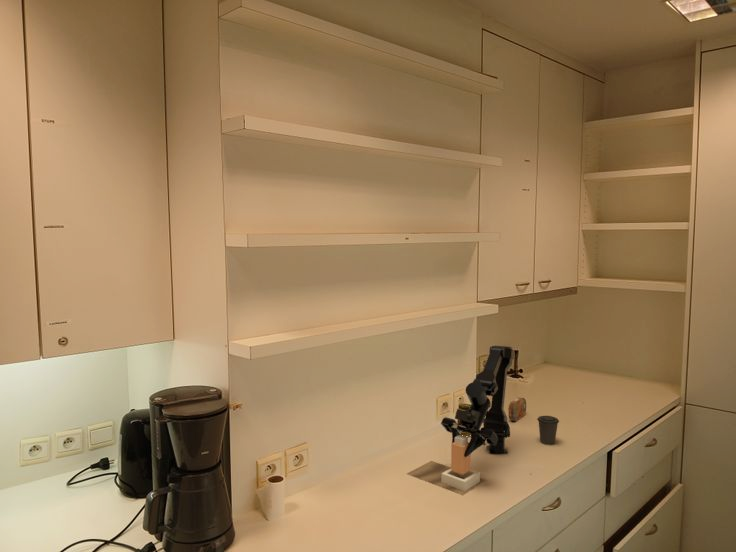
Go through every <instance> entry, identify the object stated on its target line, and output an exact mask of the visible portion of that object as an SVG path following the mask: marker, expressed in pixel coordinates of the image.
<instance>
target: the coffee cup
mask: <svg viewBox="0 0 736 552" xmlns="http://www.w3.org/2000/svg"><path fill="white" fill-rule="evenodd" d="M537 417H538V418H537V419H536V420H537V421H538V429H539V440H540V441H539V442H540V443H541V444H543V445H546V446H553V445H555V444H556V437H557V431H558V424H559V423H560V420H559V419H558V418H557V417H554V416H552V415H539V416H537Z"/></svg>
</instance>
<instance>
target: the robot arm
mask: <svg viewBox="0 0 736 552" xmlns="http://www.w3.org/2000/svg"><path fill="white" fill-rule="evenodd" d="M515 355H516V354H515V349H513V348H512V346H505V345H492V346H490V347H489V354H488V357H487V359H486V362H485V365H484V367H483V370H482V371H481V372H479V373H478V374H477V375H476V377H475V378H474V379H473V380H472V382H470V383H469V384H467V386H465V393H466V396H467V398H468V400H469V402H470V408H469V409H466V410H465V411H463V410H459V408H456V411H455V416H454V418H451V417H447V416H445V417H443V418H442V420H441V422H440V425H441V426H442V427H443V428H444V429H445V431H446V432H448V433H450V434H451V438H452V439H451V444H452V443H453V442H455V437H456V436H458V435H461V432H465V433H469V434H471V437H470V439H469V441H468V442H469V444H468V447H467V449H466V451H465V454H464V456H465V457H467V456H468V455H470V454H472V453H473V452H475V451H476V450H477V449H478V448H480V447H482V446H485V445H486V443H487V444H488V445H486V446H485V447H486V450H487V451H488V452H489V453H490V454H491V455H492V454H495V455H496V454H508V450H507V449H506V448H505V445H506V444H505V442H506V441H505V440H506V439H508V438H510V437H511V428H510V425H509V422H508V416H507V413H506V412H505V410H504V407H505V397H506V387H507V377H508V376H507V375H508V370H509V369H510V367H511V366H512V364H513V361H514V359H515ZM488 396H489V397H491V400H490V399H489V397H488ZM457 419H459V422H460V423H462V425H459V424H457ZM482 425H483V427H482Z"/></svg>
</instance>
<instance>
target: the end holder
mask: <svg viewBox="0 0 736 552" xmlns="http://www.w3.org/2000/svg"><path fill="white" fill-rule="evenodd" d="M457 476H460V477H462V478H465V479H461V478H458V477H457ZM480 478H481V472H480V471H475V470H473V469H470V471H469V472H467V473H465V474H464V475H462V474H459V473H456V472H453V471H451V468H450V469H449V470H447V471H445V472H443V473H442V475H441V483H444V484H447V485H449V486H452V487H455V488H457V489H460V490H463V491H466V490H468V489H469V488H471V487H472V486H474V485H476V484H477V483H479V482H480Z"/></svg>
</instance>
